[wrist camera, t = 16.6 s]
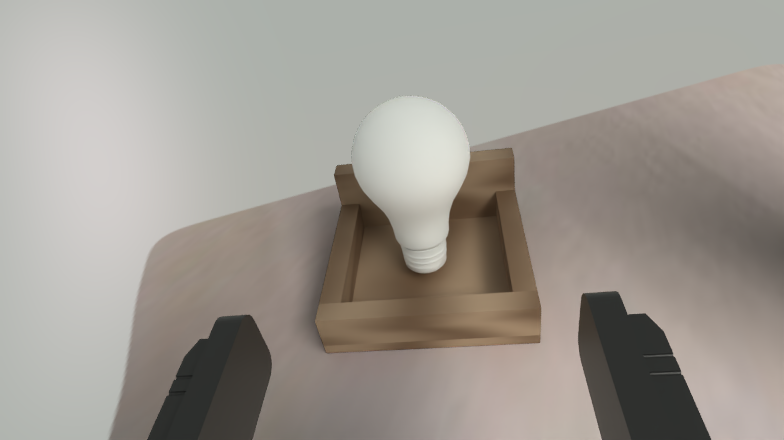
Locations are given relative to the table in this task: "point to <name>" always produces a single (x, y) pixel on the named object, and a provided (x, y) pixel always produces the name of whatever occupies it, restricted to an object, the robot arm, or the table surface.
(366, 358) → the table surface
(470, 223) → the cradle
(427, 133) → the lightbulb
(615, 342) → the robot arm
